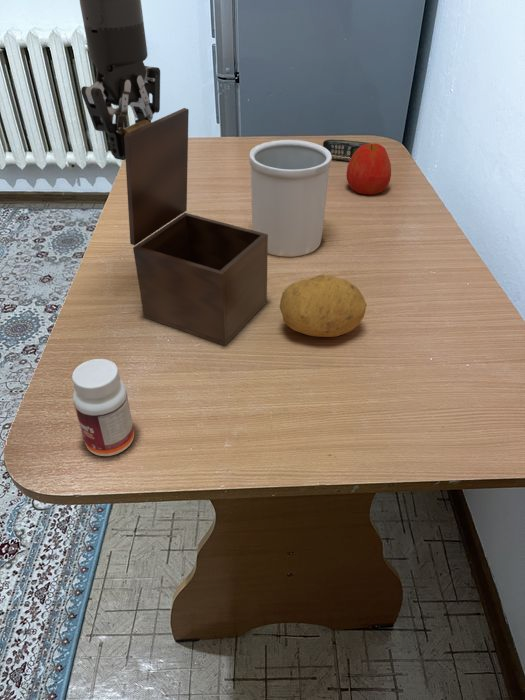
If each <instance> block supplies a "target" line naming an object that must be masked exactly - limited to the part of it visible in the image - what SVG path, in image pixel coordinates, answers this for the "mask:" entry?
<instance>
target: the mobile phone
mask: <svg viewBox="0 0 525 700" xmlns="http://www.w3.org/2000/svg"><path fill="white" fill-rule="evenodd" d="M364 144H372V143H371V142H365V141H358V140H347V139H325V140H324V141H323V143H322V146H323V147H324V148H326V149H327V150H329V151H330V153H331V155H335V156H341V157H333V156H332V160H331V161H340V162H341V161H342V162H348V163H349V161H350V158H351V157H352V155H353V154H354V153H355V151H356V150H357V149H358V148H359V147H360V146H362V145H364ZM342 157H350V158H342Z"/></svg>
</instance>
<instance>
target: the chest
mask: <svg viewBox="0 0 525 700" xmlns="http://www.w3.org/2000/svg"><path fill="white" fill-rule="evenodd" d="M132 250H133V257H134V263H135V270H136V276H137V283H138V290H139V295H140V302H141V308H142V313H143V318H145V319H147V320H150V321H153V322H155V323H158V324H159V323H160V324H163V325H165V326H168V327H170V328H174V329H176V330H178V331H182V332H184V333H187V334H190V335H193V336H196V337H198V338H201V339H203V340H207V341H210V342H212V343H216V344H219V345H220V346H224V347H225V346H227V344H229V342H230V341H232V340H233V339H234V337H235V336H236V335H237V334H238V333H239V332H240V331H241V330H242V329H243V328H244V327H245V326H246V325H247V324H248V323H249V321H250V320H252V318H254V316H256V315H257V313H258V312H259V311H261V309H262V308H263V307H264V306H265V305H266V304H267V303H268V254H269V253H268V234H265V233H261V232H257V231H253V229H249V228H245V227H241V226H238V225H233V224H230V223H226V222H222V221H219V220H215V219H211V218H206V217H203V216H199V215H196V214H192V213H188V212H184V213H182V214H181V215H179V216H178V217H176V218H175V219H173V220H172V221H170V222H169V223H167V224H166V225H164V226H163V227H162V228H160V229H159V230H157V231H156V232H154V233H153V234H151V235H150V236H148V237H147V238H145V239H144V240H142V241H141V242H139V243H138V244H136V245H135V246H133V247H132Z"/></svg>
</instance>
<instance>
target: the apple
mask: <svg viewBox="0 0 525 700" xmlns="http://www.w3.org/2000/svg"><path fill="white" fill-rule="evenodd" d="M345 177H346V182H347V183H348V186H349V187H350V188H351V189H352V190H353V191H354V192H356V193H358V194H361V195H376V194H380V193H383V192H384V191H385V190H386V189H387V187H389V184H390V182H391V179H392V164H391V160H390V157H389V155H388V152H387V150H386V148H385V147H384V146H383V145H381V144H379V143H371V144H364V145H362V146H360V147H359V148H358V149H357V150H356V151H355V153H354V154H353V155H352V157H351V159H350V161H349V162H348V164H347V167H346V175H345Z"/></svg>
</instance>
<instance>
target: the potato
mask: <svg viewBox="0 0 525 700" xmlns="http://www.w3.org/2000/svg"><path fill="white" fill-rule="evenodd" d="M366 309H367V302H366V299H365V297H364V295H363V294H362V292H361V290H360V289H359V288H358V287H357V286H356V285H355V284H353V283H352V282H350V281H349V280H346V279H343V278H340V277H337V276H333V275H331V274H319V275H315V276H312V277H308V278H305V279H301V280H298V281H295V282H293V283H291V284H289V285H288V286H287V287H286V288H285V289H283V292H282V294H281V297H280V302H279V310H280V313H281V315H282V319H283V322H284V323H285V324H286V326H288V327H289V329H291V330H293V331H295V332H298V333H300V334H304V335H307V336H310V337H319V338H320V337H322V338H329V337H331V338H332V337H338V336H339V337H340V336H341V335H345V334H347V333H350V332H352V331H353V330H354V329H355V328H357V327H358V326H359V325H360V324H361V322H362V321H363V319H364V318H365V314H366Z"/></svg>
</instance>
